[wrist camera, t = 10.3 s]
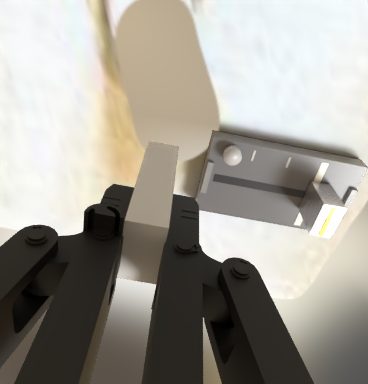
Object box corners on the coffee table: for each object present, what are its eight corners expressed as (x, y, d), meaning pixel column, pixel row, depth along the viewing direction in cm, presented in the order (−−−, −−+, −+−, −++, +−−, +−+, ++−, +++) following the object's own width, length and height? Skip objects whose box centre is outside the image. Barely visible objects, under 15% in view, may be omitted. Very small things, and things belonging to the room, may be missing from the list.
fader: (311, 180, 49) (324, 204, 44) (331, 184, 49) (346, 208, 44) (298, 209, 52) (309, 234, 47) (317, 212, 52) (330, 238, 47)
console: (212, 130, 49) (213, 141, 45) (361, 159, 50) (372, 173, 47) (195, 200, 55) (194, 214, 52) (327, 224, 56) (335, 240, 53)
